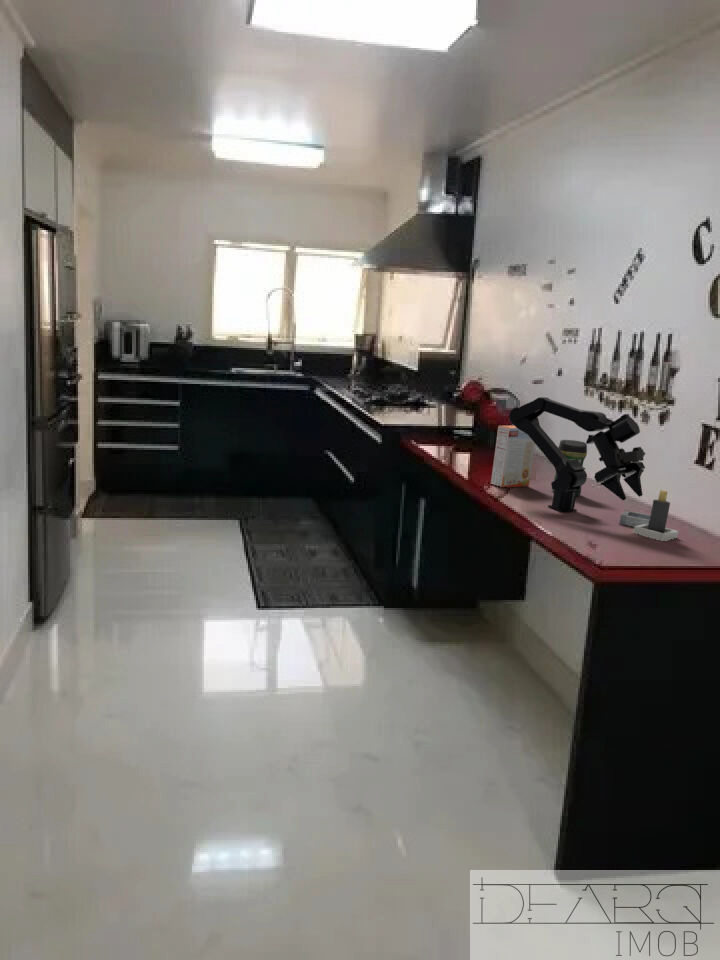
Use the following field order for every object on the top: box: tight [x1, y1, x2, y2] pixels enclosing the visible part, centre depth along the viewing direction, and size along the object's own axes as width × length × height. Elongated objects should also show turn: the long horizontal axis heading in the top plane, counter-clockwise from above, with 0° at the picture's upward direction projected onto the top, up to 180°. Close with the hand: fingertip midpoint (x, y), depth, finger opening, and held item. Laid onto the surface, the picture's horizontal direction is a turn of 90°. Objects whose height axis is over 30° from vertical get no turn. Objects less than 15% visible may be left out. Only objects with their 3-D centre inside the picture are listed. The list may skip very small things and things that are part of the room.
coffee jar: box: [551, 439, 588, 497], centre depth 273 cm, size 10×8×19 cm
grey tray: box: [619, 509, 651, 528], centre depth 237 cm, size 12×9×3 cm
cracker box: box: [490, 425, 536, 488], centre depth 275 cm, size 14×6×21 cm, turn 127°
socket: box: [632, 523, 679, 542], centre depth 226 cm, size 9×9×2 cm
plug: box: [648, 489, 671, 533], centre depth 225 cm, size 5×5×13 cm
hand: (632, 497), depth 232 cm, fingers open, 9 cm apart
